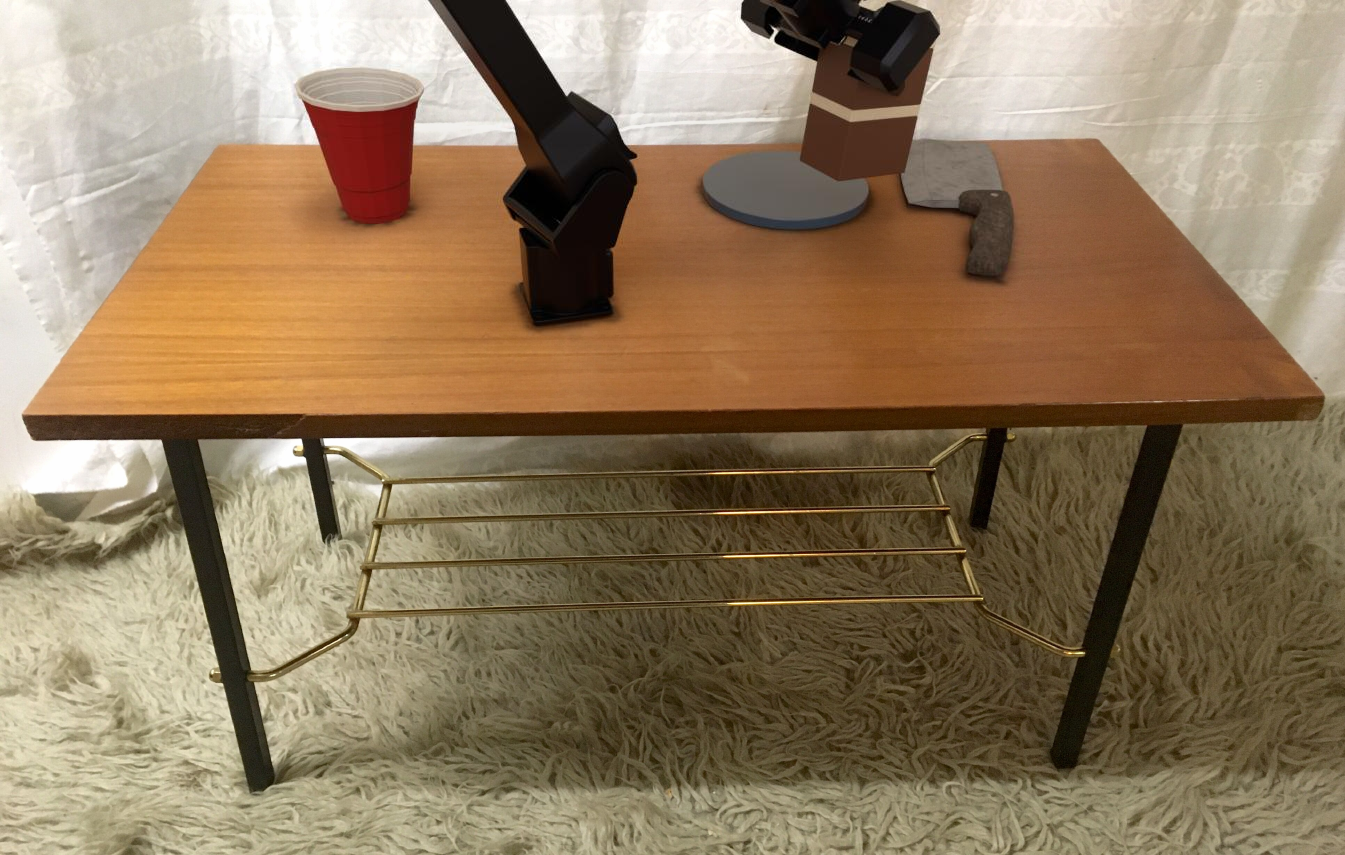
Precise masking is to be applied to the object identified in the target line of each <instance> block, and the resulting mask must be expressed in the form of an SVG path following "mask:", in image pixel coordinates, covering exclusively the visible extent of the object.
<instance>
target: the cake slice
mask: <svg viewBox="0 0 1345 855" xmlns="http://www.w3.org/2000/svg"><path fill="white" fill-rule="evenodd" d="M869 9H870V10H873V11H876V10H878V9H879V8H869ZM938 24H939V26H941V24H940V23H938ZM857 41H858V40H856V39H854V38H851V37H849V36H848V37H847V39H846V41H845V42H844V44H843V45H842V46H837V45H834V44H832V43H829V44H828V45H827V47H826V48H825V49H824V50H823V49H821V48H819V54H818V59H817V62H816V66H815V71H814V77H813V82H812V88H811V94H810V100H809V104H808V111H807V116H806V122H805V127H804V132H803V139H802V144H801V150H800V152H801V155H800V161H801V162H803V163H805V164H807V165H809V166H810V167H812V168H814V169H816V170H818V171H820V172H822V173H823V174H825V175H827V176H829V177H831V178H833V179H835V180H836V181H846V180H854V179H861V178H864V179H868V178H875V177H882V176H893V175H899V174H900V175H901V173H905V169H906V165H907V161H908V156H909V152H910V148H911V144H912V140H914V139H913V138H914V135H915V130H916V127H917V122H918V119H919V114H920V109H921V104H922V100H923V96H924V92H925V88H926V84H927V80H928V75H929V71H930V67H931V62H932V60H933V59H932V58H933V54H934V50H935V46H936V42H937V39H936V40H935V42H934V43H933V44H932V46H931V47H930V48H929V50H928V51H927V52H926V53H925V55H924V56H923V57H922V59H921V60H920V61H919V63H918V64H917V65H916V67H915V68H914V69H913V70H912V72H911V73H910V74H909V76H908V77H907V78H906V80H905V89H904V90H903V92H902V93H901V94H900V95H899V96H898V97H896V96H894V95H892V94H889V93H887V92H885V91H882V90H879V89H877V88H875V87H872V86H870V85H867V84H865V83H863V82H860V81H858V80H856V79H854V78H852V77H849V76H847V73H848V72H849V70H850V69H851V67H850V59H851V51H852V48H853V47H854V45H855V44H856V43H857Z"/></svg>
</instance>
